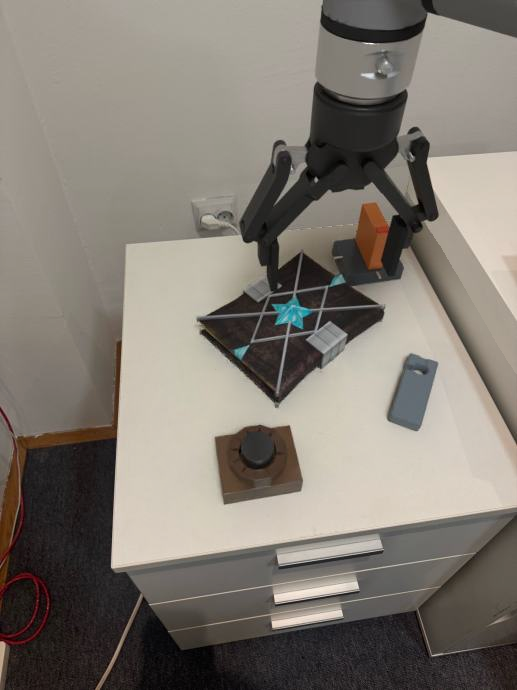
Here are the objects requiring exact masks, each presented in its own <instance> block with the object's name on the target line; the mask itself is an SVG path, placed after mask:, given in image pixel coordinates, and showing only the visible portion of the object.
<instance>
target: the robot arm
mask: <svg viewBox="0 0 517 690" xmlns="http://www.w3.org/2000/svg"><path fill="white" fill-rule="evenodd" d="M320 6H321V7H320V19H319V25H318V26H319V27H318V36H317V37H318V38H317V45H316V46H317V47H316V57H315V66H314V67H315V68H314V77H315V79H316V82H315V83H314V86H313V90H312V91H313V93H312V104H311V112H310V113H311V114H310V125H309V126H310V127H309V136H308V139H307V141H306V142H305V144H304V145H287V142H286V141H285V140H283V139H277V140H276V141H275V142H274V143H273V144H272V149H271V158H270V163H269V165H268V167H267V169H266V171H265V172H264V175H263V177H262V178H261V180H260V182H259V184H258V185H257V188H256V190H255V191H254V193H253V195H252V197H251V199H250V201H249V202H248V205H247V207H246V208H245V210H244V212H243V213H242V216H241V218H240V219H239V222H238V226H239V230H240V235H241V239H242V242H243V243H244V244H251V243H253V242H254V243H256V245H257V247H256V250H257V251H256V254H257V258H258V262H259V265H260V267H266V272H265V273H266V274H265V275H267V279H268V283H269V287H270V290H271V292H273V291H277V290H278V269H279V268H280V267H279V266H280V243H279V239H278V237H279V236H280V235H282V234H283V232H285V230H287V228H288V227H289V226H290V225H291V224H292V223H293V222H294V221H295V220H296V219H298V217H299V216H300V215H301V214H302V213H303V212H304V211H305V210H306V209H307V208H308V207H309V206H310V205H312V203H313V202H314V201H315V202H317V201H319V200H320V199H321V198H323V196H325V194H326V193H327V192H328V191H330V192H331V193H332V194H334V193H341V192H344V191H347V190H351V191H363V190H365V187H367V186H369V185H371V184H373V185H374V187H375V188H376V189H377V190H378V191H379V192H380V194H382V195H383V197H384V198H385V199H386V200H387V202H388V203H389V204H390V205H391V207H392V208H393V209H394V210H395V211H396V213H397V214H393V215H392V217H391V220H390V224H389V231H388V235H387V239H386V242H385V246H384V250H383V254H382V257H381V262H382V265H383V267H384V269H385V271H386V273H387V275H388V277H390V276H395V273H396V270H397V266H398V263H399V260H401V256H402V253H403V250H405V249H406V250H408V249H409V248H410V246H411V244H412V242H413V239H414V236H415V234H418V233H420V232H422V230H423V229H424V225H423V222H425V221H427V222H430V223H431V222H434V221H436V220H438V218H439V216H440V214H439V209H438V205H437V201H436V196H435V191H434V187H433V183H432V179H431V175H430V170H429V166H428V159H429V154H430V153H429V152H430V148H431V143H430V142H429V140H428V138H427V137H426V136H425V134H424V133H423V132H422V130H421V128H420V127H419V126H412V127H411V128H409V129H408V131H407V133H406V134H404V135H399V134H400V131H401V127H402V122H403V119H404V114H405V110H406V107H407V102H408V98H409V93H408V89H407V88H409V87H410V85H411V84H412V80H413V76H414V71H415V67H416V63H417V60H418V54H419V52H420V46H421V43H422V39H423V34H424V30H425V28H426V23H427V18H428V13H429V14H432V15H435V16H438V17H442V18H443V17H444V18H447V19H449V20H454V21H457V22H461V23H464V24H468V25H470V26H474V27H478V28H481V29H484V30H487V31H491V32H495V33H498V34H501V35H505V36H508V37H511V38H515V39H517V0H322V4H321V5H320ZM398 154H401V157H402V158H403V159H404V160H405V161H406V164H407V168H408V171H409V175H410V179H411V182H412V186H413V189H414V193H415V196H416V201H417V204H415V205H412V204H411V203H410V202H409V201H408V199H407V198H406V197H405V196H404V195H405V194H403V193H402V192H401V190H400V189H399V187H398V186H397V185H396V183H395V182H394V181H393V179H392V178H391V177H390V175H389V174H388V172H387V171H386V168H387V167H388V166H389V165H390V164H391V162H393V161H394V159H396V157H397V156H398ZM302 163H305V164H306V167H305V168H304V169H303V170H302V171H301V172H300V174H299V178H298V179H297V180H296V181H295V182H294V184H293V185H292V186H291V187H290V188H289V189H288V190H287V191H286V192H285V194H284V195H283V196H282V197H281V198H280V196H281V195H282V193H283V191H284V189H285V188H286V186H287V184H288V182H289V178H290V175H292V176H293V175H294V174H295V173H296V170H297V168H298V167H299V165H301V164H302ZM316 179H317V181H316ZM279 198H280V199H279ZM278 199H279V200H278Z"/></svg>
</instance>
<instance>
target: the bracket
mask: <svg viewBox="0 0 517 690" xmlns="http://www.w3.org/2000/svg"><path fill="white" fill-rule="evenodd" d="M438 367H439V361H436V360H433V359H431V358H424V357H422V356H421V355H418V354H415V353H412V352H411V353H409V355H408V357H407V359H406V362H405V364H404V368H403V371H402V375H401V378H400V381H399V384H398V387H397V390H396V393H395V397H394V400H393V403H392V405H391V409H390V412H389V415H388V418H387V420H388V422H390V423H393V424H396V425H398V426H401V427H404V428H407V429H409V430H412V431H415V432H419V430H420V429H421V427H422V425H423V422H424V418H425V415H426V411H427V407H428V403H429V399H430V396H431V393H432V389H433V386H434V382H435V378H436V374H437V371H438ZM416 371H421V372H422V373H423V374H420V373H417V372H416Z"/></svg>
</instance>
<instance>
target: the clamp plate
mask: <svg viewBox="0 0 517 690" xmlns="http://www.w3.org/2000/svg"><path fill="white" fill-rule="evenodd" d="M355 232H357V229H356V231H355ZM331 254H332V256H333V260H334V261H335V264H336V266H337V269H338V272H339V274H342V277H343V279H344V281H345V282H346V283H347V284H348V285H350V286H351V287H353V286H354V287H355V286H361V285H369V284H374V283H381V282H389V281H395V280H396V281H397V280H401V279H402V276H403V274H404V273H403V272H404V270H405V266H404V264H403V262H402V261H401V259H400V260H399V263H398V266H397V270H396V273H395V276H390V277H388V275H387V273H386V271H385V269H384V267H383V266H382V268H378V269H370V270H368V268H367V265H366V263H365V261H364V259H363V257H362V254H361V252H360V250H359V248H358V245H357V243H356V241H355V237H354V238H346V239H340V240H333V244H332V249H331Z"/></svg>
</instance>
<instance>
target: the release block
mask: <svg viewBox="0 0 517 690" xmlns="http://www.w3.org/2000/svg"><path fill="white" fill-rule="evenodd" d="M256 431H259V432H263V433H266V434H267V435H269V436H270V437H271V439H272V440H273V443H274V455H273V459H272V461H271V462H270V463H269V464H268V465H267V466H265V467H262V468H253V467H250V466H249V465H247V464H246V463H245V462H244V460H243V458H242V455H241V443H242V440H243V439H244V437H245V436H246V435H248V434H249V433H252V432H256ZM214 443H215V451H216V458H217V466H218V472H219V480H220V488H221V496H222V501H223V505H230V504H231V505H232V504H236V503H243V502H247V501H254V500H259V499H265V498H271V497H276V496H282V495H288V494H293V493H299V492H302V489H303V483H304V479H303V474H302V470H301V466H300V461H299V458H298V454H297V449H296V445H295V441H294V437H293V432H292V428H291V425H290V424H287V425H282V426H275V427H269V426H267V425H263V424H255V425H249V426H245V427H243V428H242V429H240V430H239V431H238V432H236V433H232V434H225V435H220V436H215V437H214Z"/></svg>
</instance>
